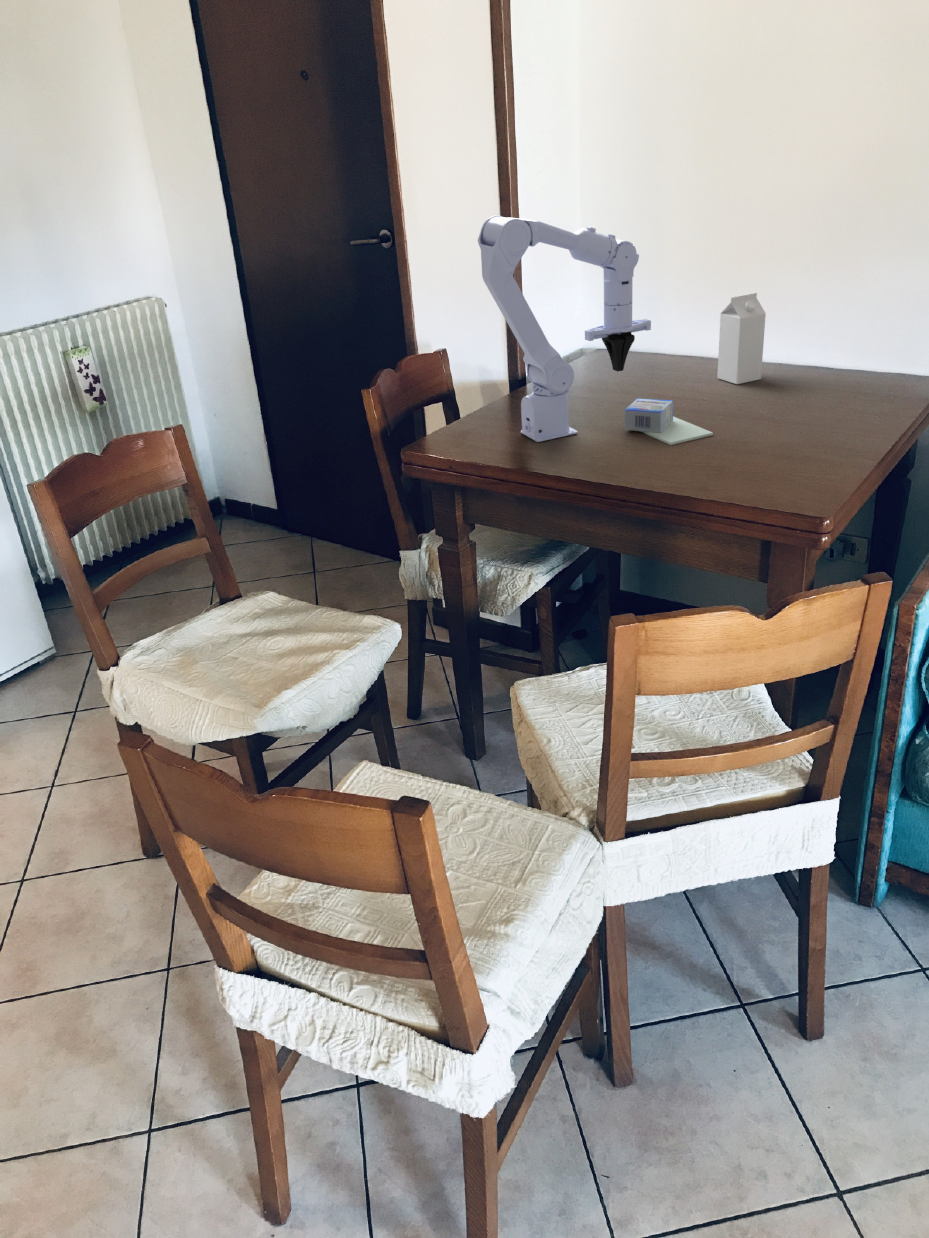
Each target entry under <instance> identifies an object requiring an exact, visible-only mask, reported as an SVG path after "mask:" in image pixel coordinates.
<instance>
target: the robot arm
mask: <svg viewBox="0 0 929 1238" xmlns="http://www.w3.org/2000/svg"><path fill="white" fill-rule="evenodd" d="M596 231H597V229H596V228H594V227H591V226H586V228H580V229H578V230H577V231H575V232H571V231H568V230H566V229H563V228H560V227H557V226H555V225H551V224H548V223H546V222H543V221H540V220H535V219H534V220H533V219H528V218H520V217H519V218H516V217H504V216H502V215H498V214H495V215H492V216H490V217H488V218H487V219H486V220H485V221H484V223H483V224H482V227H481V228H480V232H479V235H478V238H477V242H478V246H479V248H480V260H481V277H482V280H483V282H484V284H485V286H486V287H487V289H488V292H489V293H490V295H491V296H492V297H493V300H494V302H495V303H496V306H497V307H498V310H499V311H500V313H501V314H502V316H503V318H504V320H505V321H506V323H507V325H508V326H509V329H510V331H511V332H512V334H513V336H514V337H515V339H516V341H517V343H518V344H519V346H520V348H521V350H522V352H523V353H524V355H523V357H522V360H523V362H524V364H525V366H526V376H527V378H528V380H529V381H530V382H531V383H532V392H531V393H530V394H528V395H526V396H525V395H524V396H523V397H522V399H521V402H520V413H521V414H520V415H521V430H520V433H521V434H523V435H524V436H526V437H528V438H530V439H531V440H533V441H534V442H537V443H540V442H544V441H548V440H549V441H550V440H554V439H558V438H562V437H566V436H571V435H575V434H576V435H577V434H578V430H576V429H575V428H572V427H571V426H570V410H569V409H570V408H569V407H570V406H569V404H570V403H569V391H570V388H571V386H572V385H573V383H574V379H575V371H574V369H573V367H572V365H571V364H569V363H568V362H566V361H565V360H564V359H563V358H562V357H561V355H560V353H559V352H558V351H557V350H556V349H555V348H554V347H553V346H552V345H551V344H550V343H549V339H547V337H546V335H545V333H544V331H543V329H542V327H541V326H540V323H539V321H538V320H537V319H536V316H535V314H534V313H533V311H532V309H531V307H530V305H529V304H528V302H527V300H526V298H525V295H524V294H523V293H522V290H521V289H520V287H519V284H518V283H517V281H516V279H515V278H514V273H515V270H516V268H517V265H518V264H519V263H520V262H521V259H522V257H523V256H524V255H525V253H526V252H527V250H528V248H529V247H535V246H536V245H537V244H538V243H542V244H546V245H549V246H554V247H556V248H562V249H564V250H568V251H569V253H570V255H571V258H572V259H574V260H576V261H579V262H580V261H581V262H583V263H587V264H590V265H594V266H598V267H600V268H602V269H603V324H601V325H598V326H596V327H592V328H589V329H584V340H585V341H589V342H592V341H594V340H597V339H601V340H602V343H603V344H604V346H605V348H606V350H607V352H608V355H609V359H610V363H611V365H612V370H613V371H615V372H621V371H624V368H625V364H626V360H627V357H628V355H629V352H630V349H631V347H632V345H633V344H634V342H635V337H636V336H635V335H634V334H632V333H636V332H641V331H642V332H643V331H646V332H647V331H651V330H652V321H651V320H650V319H648V318H645V319H638V320H637V319H636V320H633V279H634V272H635V271H634V270H635V267H637V264H638V263H639V259H640V255H639V253H637V249H636V246H634V244H633V243H632V242H630V241H628V240H621V239H616V235H615V234H611V233H609V234H608V235H606V234H602V233H600V232H596Z"/></svg>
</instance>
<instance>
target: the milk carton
mask: <svg viewBox="0 0 929 1238" xmlns="http://www.w3.org/2000/svg"><path fill="white" fill-rule="evenodd" d="M757 294H758V292H755V293H754V292H753V293H749V294H748V293H747V294H742V295H738V296H731V297H730V302H729V304H728V305H727V306H726V307H725V308H724V309H723V310H722V312H720V313H719V314H720V316H719V337H718V338H719V339H718V353H717V354H718V357H717V358H718V361H717V374H716V375H717V378H716V379H718V380H722V381H726V382H728V383H732V384H735V385H740V384H745V383H749V382H753V381H758V380H761V379H762V373H763V371H762V370H763V359H764V358H763V355H764V342H765V330H766V329H765V327H766V311H765V310H764V307H762V305H761V303H760V301H759V299H758V298H757V296H758V295H757Z"/></svg>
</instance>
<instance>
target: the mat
mask: <svg viewBox="0 0 929 1238" xmlns="http://www.w3.org/2000/svg"><path fill="white" fill-rule="evenodd" d="M640 432H641V433H643V434H645V435H647V436H649V437H651V438H654V439H655V440H658V441H661V442H663V443H665V444H668V445H669V446H672V445H677V444H681V443H686V442H690V441H694V440H699V439H702V438H707V437H710V436H714V433H713V432H712V431H710V430H707V429H705V428H703V427H700V426H698V425H696V424H693V423H690V422H688V421H686V420H683V419H681V418H678V417H675V416H674V415H673V421H672V422H671V423H670V424H669V425H668V426H667V427H666V428H665V429H664V430H663V431H662V432H661V433H657V432H645V431H640Z"/></svg>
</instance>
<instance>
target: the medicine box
mask: <svg viewBox="0 0 929 1238" xmlns="http://www.w3.org/2000/svg"><path fill="white" fill-rule="evenodd" d="M623 415H624V416H623V419H624V422H623V423H624V425H623V426H624V427H623V428H624V429H623V430H624V431H634V432H641V431H645V432H657V433H661V432H662V431H663V430H664V429H665V428H666V427H667V426H668V425H669V424H670V423H671V422H672V421H673V416H674V400H672V399H670V400H669V399H655V398H654V399H652V398H638V397H637V398H636V399H635V400H634V401H633V402H632V403H630V404H629V405H628V406H627V407H626V408H625V409H624V413H623Z"/></svg>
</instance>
